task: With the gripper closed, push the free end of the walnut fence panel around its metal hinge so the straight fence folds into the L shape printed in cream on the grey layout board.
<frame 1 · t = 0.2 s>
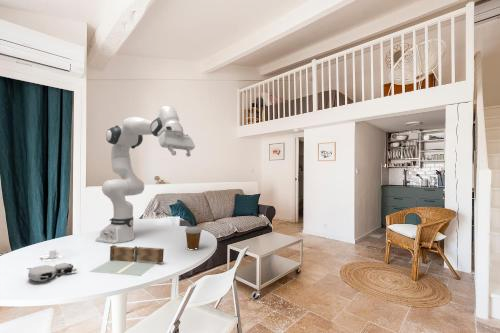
hand: (181, 155, 125), 54 cm above the table, tool tilted 30°, fingers open, 8 cm apart
robot toy: (52, 277, 102), on the table
disposable coffee cup: (192, 248, 143), on the table
hinged fence panel: (149, 254, 118), point 4 cm above the table, hinge at 0.0°
layout card: (128, 265, 115), on the table
teacup and saucer: (53, 257, 124), on the table
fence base: (135, 261, 119), resting on layout card
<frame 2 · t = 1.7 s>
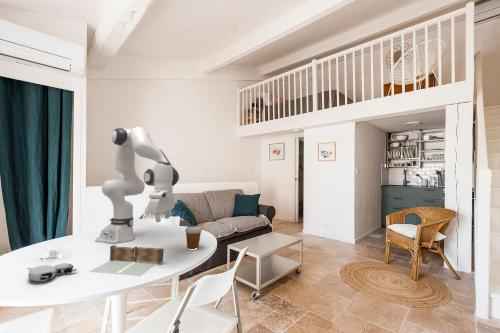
hand: (162, 220, 124), 20 cm above the table, tool pointing down, fingers open, 8 cm apart
nothing on the table moved.
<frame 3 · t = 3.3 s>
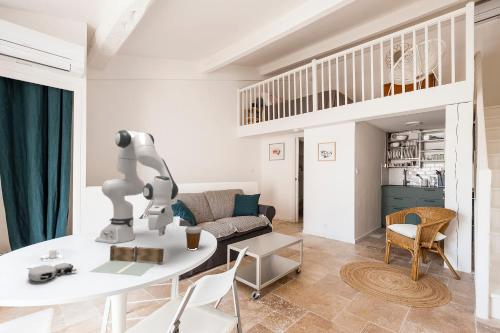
hand: (161, 235, 124), 13 cm above the table, tool pointing down, fingers closed
nothing on the table moved.
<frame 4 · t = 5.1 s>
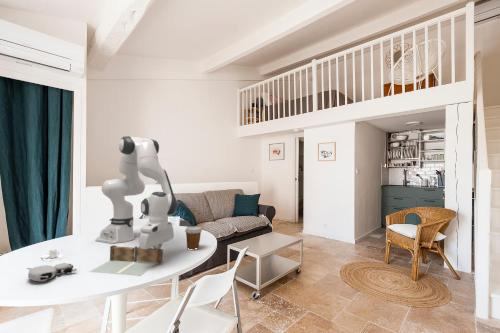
hand: (157, 252, 120), 5 cm above the table, tool pointing down, fingers closed
hinged fence panel: (149, 255, 118), point 4 cm above the table, hinge at 3.7°, touching gripper
everything else where it was.
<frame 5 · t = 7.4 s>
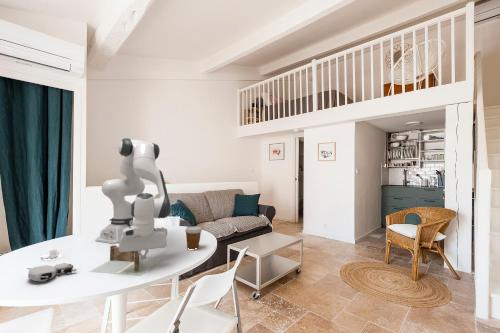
hand: (143, 259, 112), 5 cm above the table, tool pointing down, fingers closed
hinged fence panel: (136, 258, 113), point 4 cm above the table, hinge at 55.9°, touching gripper
everything else where it was.
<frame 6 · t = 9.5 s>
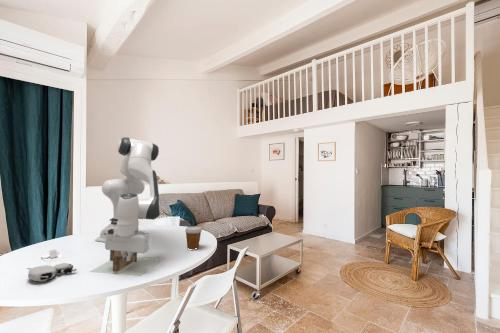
hand: (126, 260, 109), 5 cm above the table, tool pointing down, fingers closed
hinged fence panel: (125, 259, 112), point 4 cm above the table, hinge at 94.8°, touching gripper
everything else where it was.
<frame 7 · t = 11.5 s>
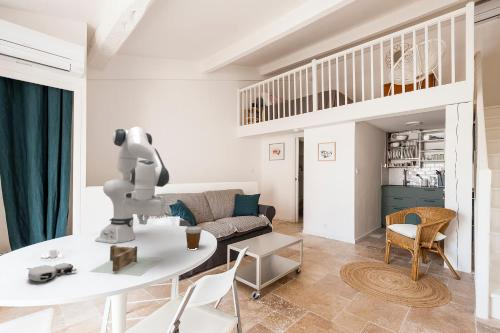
hand: (142, 224, 114), 20 cm above the table, tool pointing down, fingers closed
hinged fence panel: (125, 259, 112), point 4 cm above the table, hinge at 94.9°
everything else where it was.
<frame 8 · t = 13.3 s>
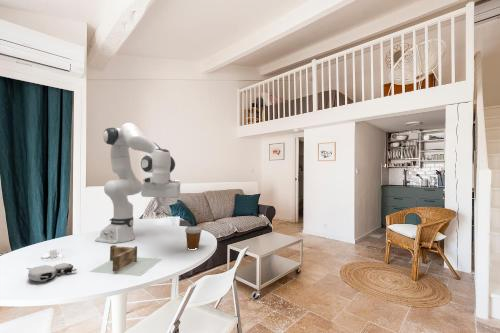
hand: (160, 205, 127), 27 cm above the table, tool pointing down, fingers closed
nothing on the table moved.
at the end: hinged fence panel at +95° (first picture: +0°) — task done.
